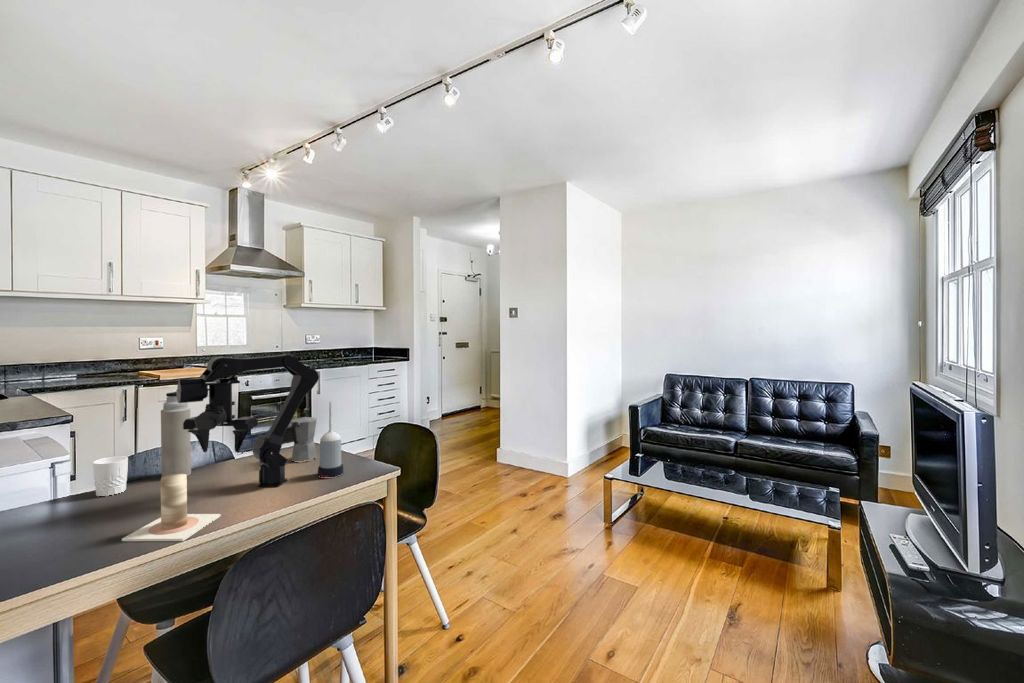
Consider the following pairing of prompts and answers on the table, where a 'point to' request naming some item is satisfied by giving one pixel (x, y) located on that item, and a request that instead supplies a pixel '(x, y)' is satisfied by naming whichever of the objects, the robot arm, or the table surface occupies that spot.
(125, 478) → the white cup
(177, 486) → the wooden tube
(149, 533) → the card
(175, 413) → the thermos bottle
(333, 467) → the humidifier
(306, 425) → the coffeepot
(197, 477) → the table surface
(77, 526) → the table surface
